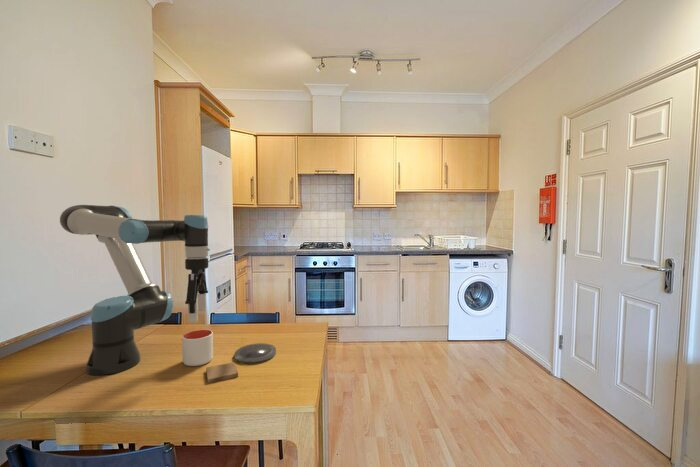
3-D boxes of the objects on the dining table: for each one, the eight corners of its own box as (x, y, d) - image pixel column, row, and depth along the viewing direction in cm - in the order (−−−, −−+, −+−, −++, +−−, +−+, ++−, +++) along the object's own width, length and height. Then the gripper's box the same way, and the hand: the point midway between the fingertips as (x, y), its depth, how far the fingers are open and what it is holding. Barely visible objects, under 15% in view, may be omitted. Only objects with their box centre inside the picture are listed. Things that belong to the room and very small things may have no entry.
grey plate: (232, 365, 111) (232, 360, 111) (237, 348, 125) (237, 344, 125) (275, 361, 114) (275, 356, 114) (275, 345, 129) (275, 341, 129)
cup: (218, 356, 119) (218, 330, 118) (203, 368, 109) (203, 339, 108) (193, 354, 120) (192, 329, 119) (176, 367, 110) (175, 338, 109)
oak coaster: (208, 383, 99) (207, 379, 99) (206, 371, 107) (206, 367, 107) (238, 376, 103) (238, 372, 103) (234, 365, 111) (234, 362, 111)
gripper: (200, 261, 102) (201, 326, 103) (214, 254, 126) (215, 306, 127) (174, 262, 100) (175, 328, 101) (194, 254, 124) (195, 307, 125)
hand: (197, 316), depth 114 cm, fingers open, 13 cm apart
